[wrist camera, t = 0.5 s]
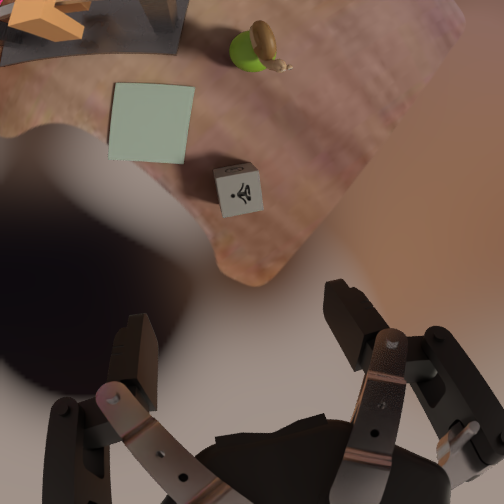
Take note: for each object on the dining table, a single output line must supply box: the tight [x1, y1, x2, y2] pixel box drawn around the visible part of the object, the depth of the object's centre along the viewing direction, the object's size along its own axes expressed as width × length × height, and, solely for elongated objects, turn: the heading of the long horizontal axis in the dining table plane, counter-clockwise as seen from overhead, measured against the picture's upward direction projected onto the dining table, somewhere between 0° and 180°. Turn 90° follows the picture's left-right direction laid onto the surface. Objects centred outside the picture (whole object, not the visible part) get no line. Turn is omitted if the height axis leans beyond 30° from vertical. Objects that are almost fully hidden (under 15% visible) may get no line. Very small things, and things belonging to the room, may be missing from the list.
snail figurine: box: [229, 21, 292, 73], centre depth 26 cm, size 5×6×12 cm
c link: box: [8, 0, 91, 42], centre depth 16 cm, size 5×4×11 cm, turn 170°
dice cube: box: [213, 162, 264, 218], centre depth 37 cm, size 5×5×5 cm
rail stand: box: [0, 0, 189, 67], centre depth 18 cm, size 8×26×15 cm, turn 80°
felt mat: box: [108, 83, 195, 164], centre depth 33 cm, size 10×10×1 cm
